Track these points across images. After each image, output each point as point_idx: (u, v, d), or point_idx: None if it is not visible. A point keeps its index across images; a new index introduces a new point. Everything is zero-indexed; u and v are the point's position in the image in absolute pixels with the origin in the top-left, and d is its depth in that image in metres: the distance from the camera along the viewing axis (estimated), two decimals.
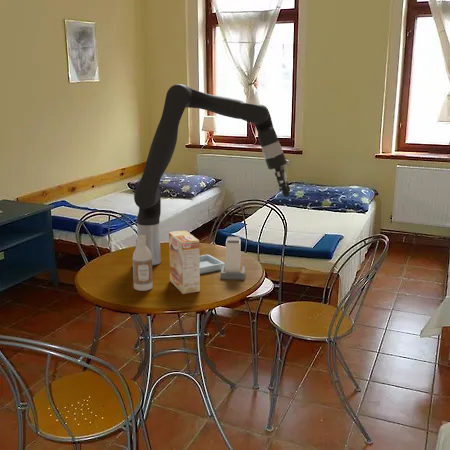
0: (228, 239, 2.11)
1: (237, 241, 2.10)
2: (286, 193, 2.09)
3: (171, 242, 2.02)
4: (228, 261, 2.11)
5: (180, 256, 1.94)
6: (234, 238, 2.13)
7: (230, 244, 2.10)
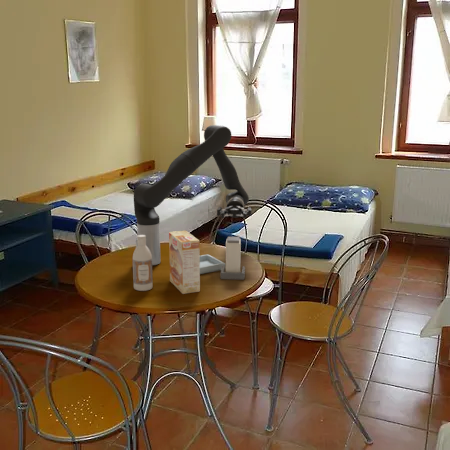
0: (228, 239, 2.11)
1: (237, 241, 2.10)
2: None
3: (171, 242, 2.02)
4: (228, 261, 2.11)
5: (180, 256, 1.94)
6: (234, 238, 2.13)
7: (230, 244, 2.10)
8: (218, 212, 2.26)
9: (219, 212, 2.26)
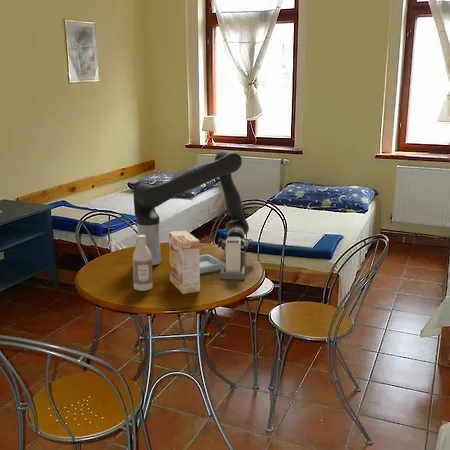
0: (228, 239, 2.11)
1: (237, 241, 2.10)
2: None
3: (171, 242, 2.02)
4: (228, 261, 2.11)
5: (180, 256, 1.94)
6: (234, 238, 2.13)
7: (230, 244, 2.10)
8: (219, 244, 2.27)
9: (220, 244, 2.27)
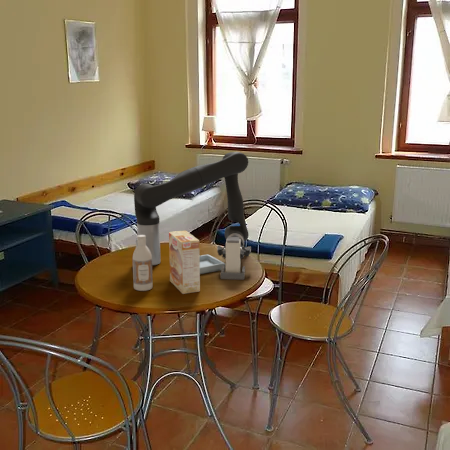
0: (228, 239, 2.11)
1: (237, 241, 2.10)
2: (243, 256, 2.12)
3: (171, 242, 2.02)
4: (228, 261, 2.11)
5: (180, 256, 1.94)
6: (234, 238, 2.13)
7: (230, 244, 2.10)
8: (220, 252, 2.16)
9: (221, 252, 2.16)
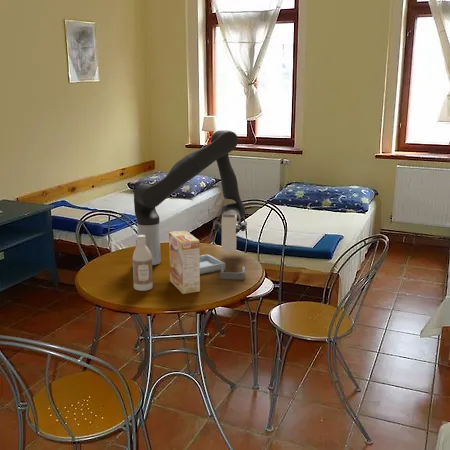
0: (224, 213, 2.13)
1: (233, 215, 2.11)
2: (239, 230, 2.14)
3: (171, 242, 2.02)
4: (224, 235, 2.13)
5: (180, 256, 1.94)
6: (230, 212, 2.14)
7: (226, 218, 2.11)
8: (216, 227, 2.17)
9: (217, 227, 2.17)
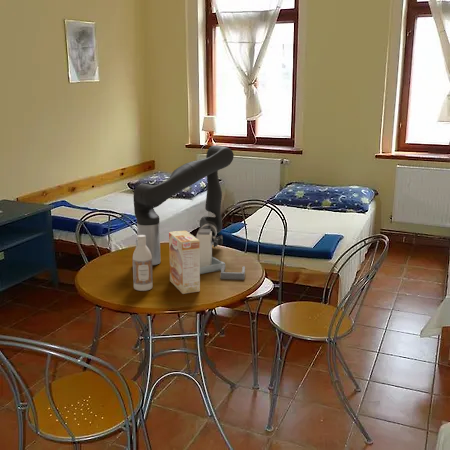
0: (199, 231, 2.20)
1: (208, 233, 2.19)
2: (216, 244, 2.21)
3: (171, 242, 2.02)
4: None
5: (180, 256, 1.94)
6: (205, 230, 2.22)
7: (201, 236, 2.19)
8: None
9: None
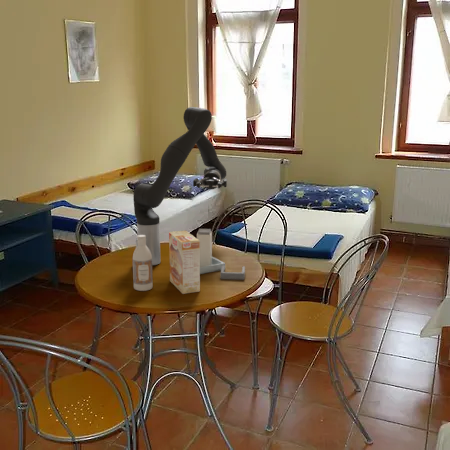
0: (199, 231, 2.20)
1: (208, 233, 2.19)
2: (221, 186, 2.28)
3: (171, 242, 2.02)
4: None
5: (180, 256, 1.94)
6: (205, 230, 2.22)
7: (201, 236, 2.19)
8: (194, 183, 2.32)
9: (195, 183, 2.32)
